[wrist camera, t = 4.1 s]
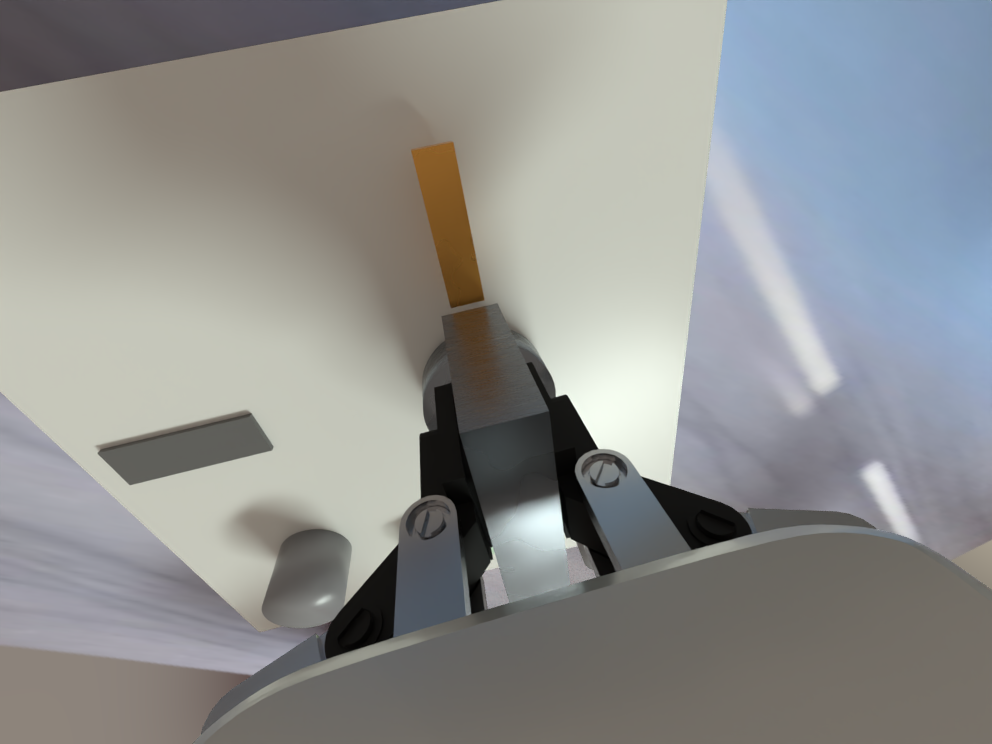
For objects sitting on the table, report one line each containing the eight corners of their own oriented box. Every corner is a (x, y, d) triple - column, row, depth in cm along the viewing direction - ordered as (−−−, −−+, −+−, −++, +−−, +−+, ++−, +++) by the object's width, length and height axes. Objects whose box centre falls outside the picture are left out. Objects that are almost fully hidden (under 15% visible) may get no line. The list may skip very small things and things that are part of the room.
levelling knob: (551, 437, 16) (622, 594, 11) (447, 464, 16) (465, 639, 10) (513, 127, 10) (630, 128, 5) (345, 162, 10) (261, 205, 4)
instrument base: (684, -17, 11) (823, -91, 7) (647, 493, 23) (693, 564, 19) (-152, 139, 10) (-508, 146, 6) (271, 593, 22) (241, 691, 18)
